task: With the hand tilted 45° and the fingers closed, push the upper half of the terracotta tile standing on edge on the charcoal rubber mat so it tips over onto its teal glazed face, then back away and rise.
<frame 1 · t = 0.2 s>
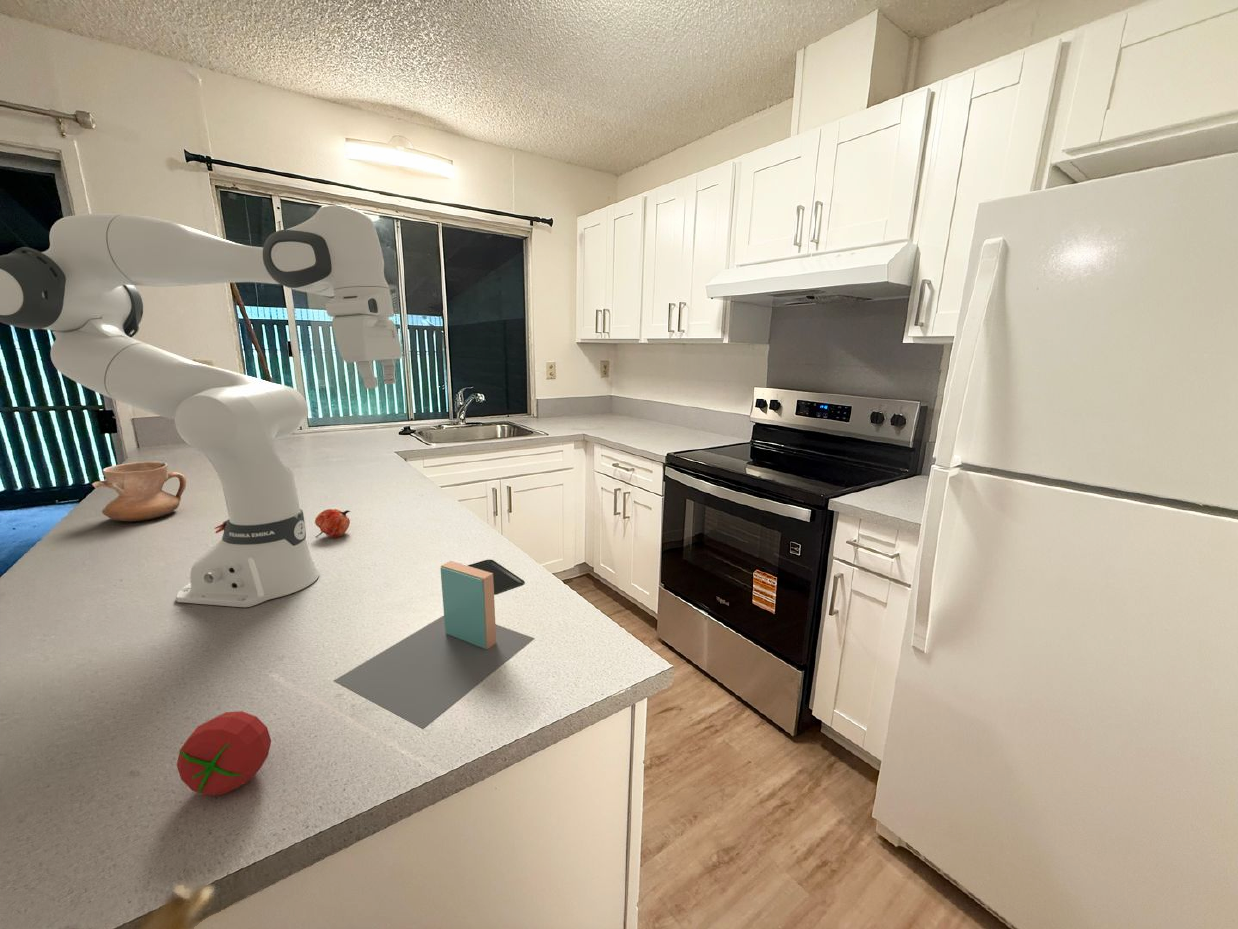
hand: (381, 386, 89), 39 cm above the counter, tool pointing down, fingers open, 8 cm apart
mat: (441, 661, 73), on the counter
phone: (491, 581, 100), on the counter
tomato: (230, 785, 52), on the counter
tile: (470, 637, 78), point 1 cm above the counter, touching mat
ceramic jug: (149, 516, 132), on the counter
pomegranate: (333, 537, 120), on the counter
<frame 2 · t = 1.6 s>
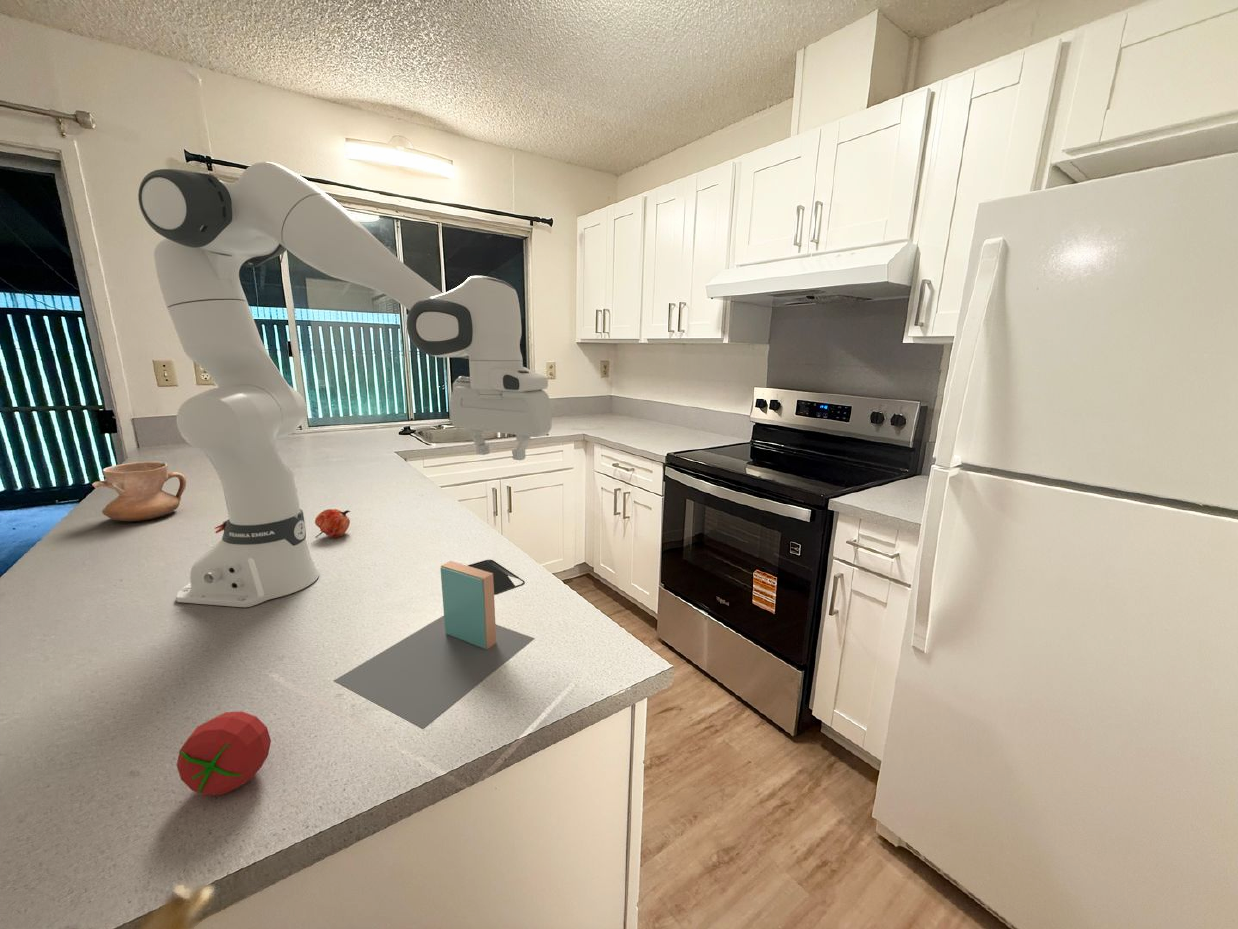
hand: (500, 456, 86), 27 cm above the counter, tool pointing down, fingers open, 7 cm apart
nothing on the counter moved.
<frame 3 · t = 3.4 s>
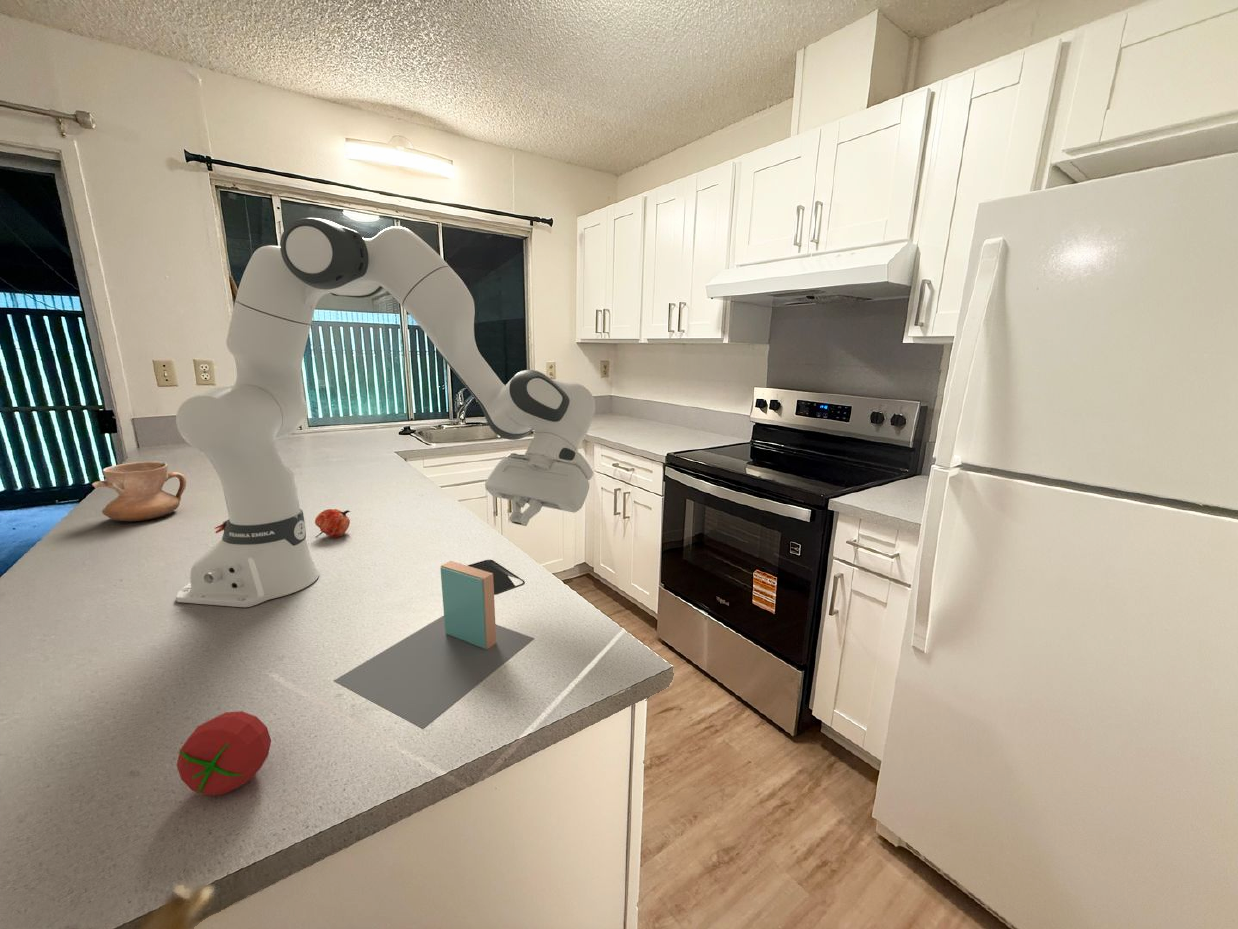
hand: (517, 523, 85), 16 cm above the counter, tool tilted 45°, fingers closed
nothing on the counter moved.
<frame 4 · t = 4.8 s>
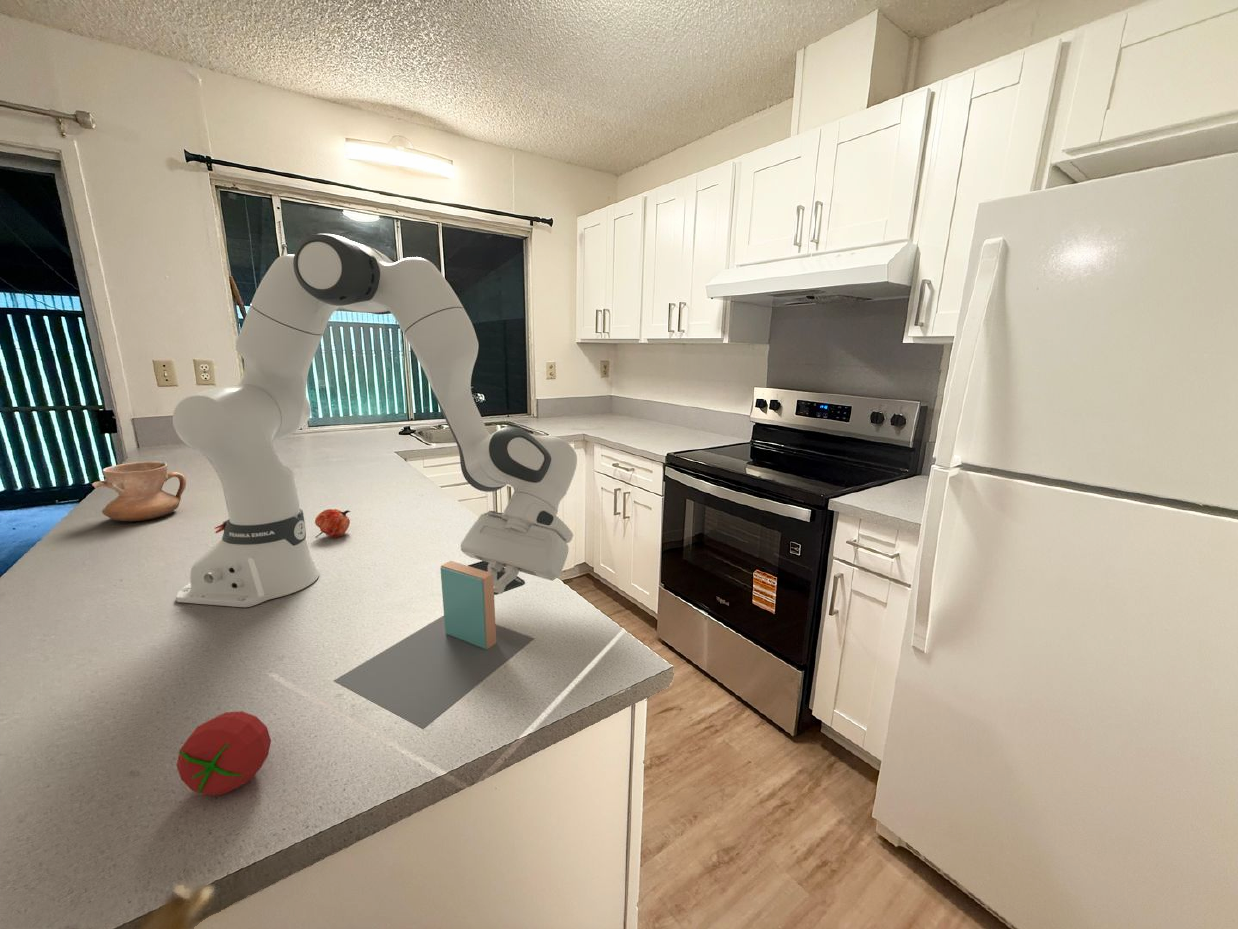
hand: (492, 590, 81), 6 cm above the counter, tool tilted 45°, fingers closed
nothing on the counter moved.
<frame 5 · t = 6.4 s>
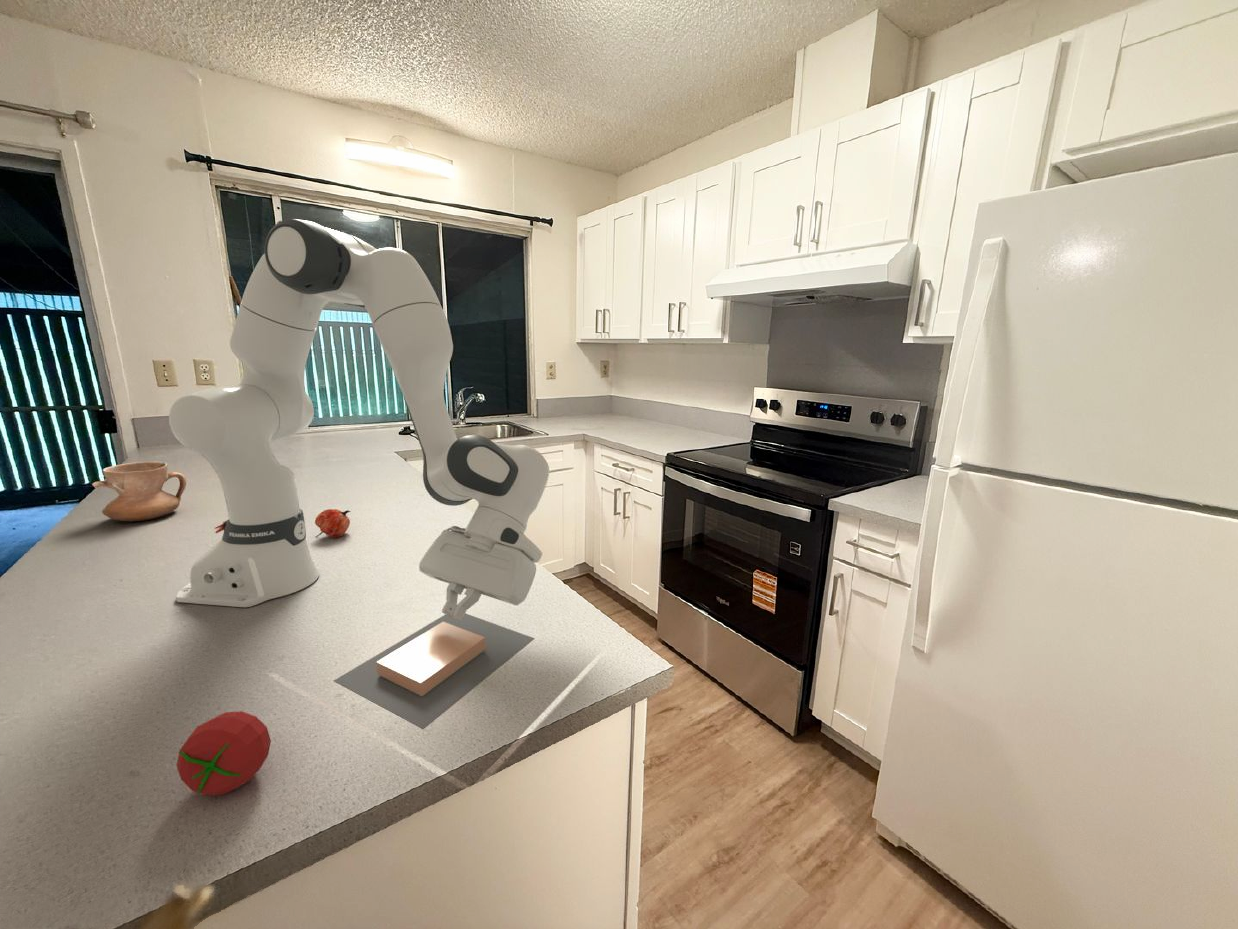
hand: (451, 616, 74), 6 cm above the counter, tool tilted 45°, fingers closed
tile: (463, 635, 77), point 2 cm above the counter, tilted 90°, touching mat
everything else where it was.
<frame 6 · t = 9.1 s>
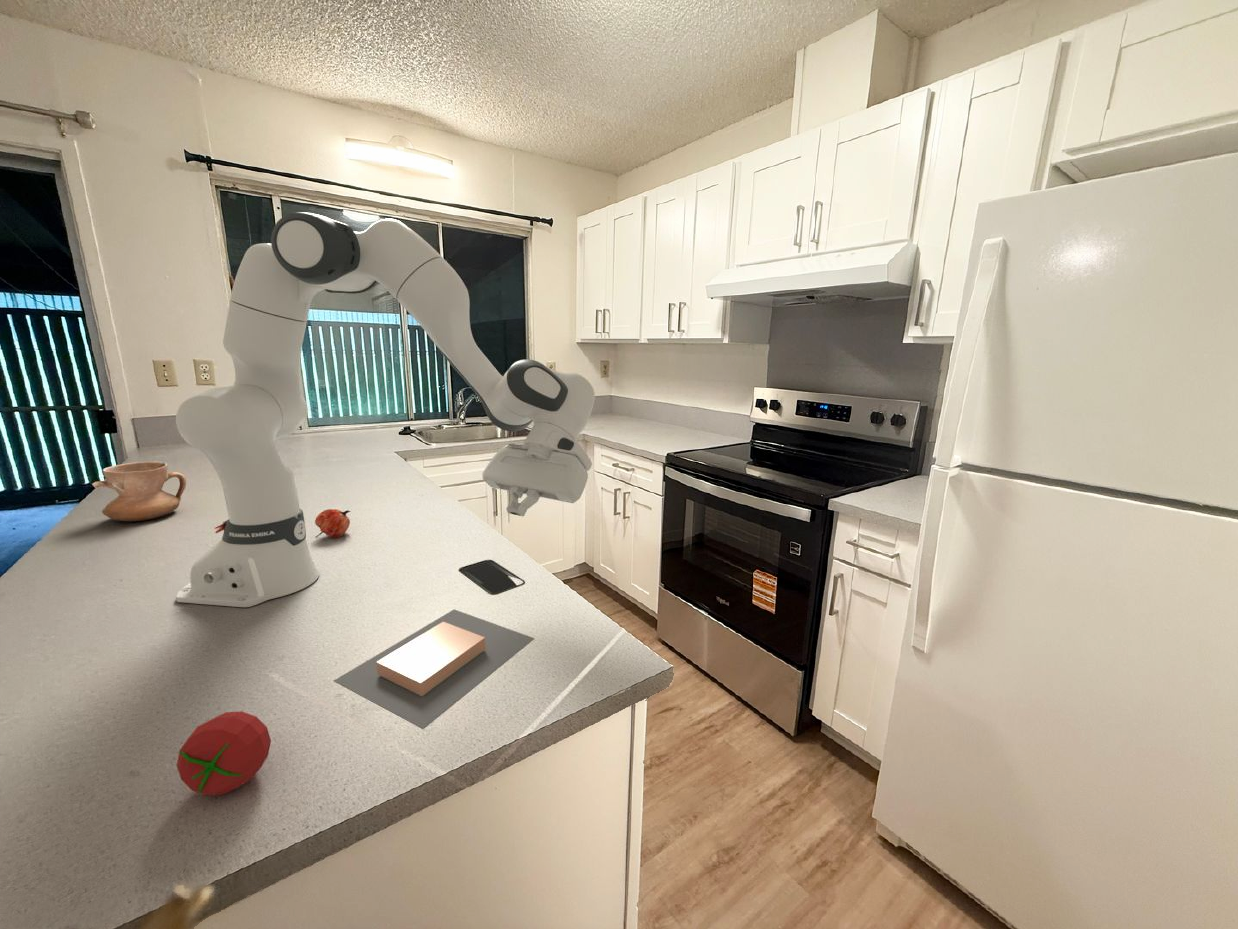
hand: (514, 513, 84), 18 cm above the counter, tool tilted 45°, fingers closed
nothing on the counter moved.
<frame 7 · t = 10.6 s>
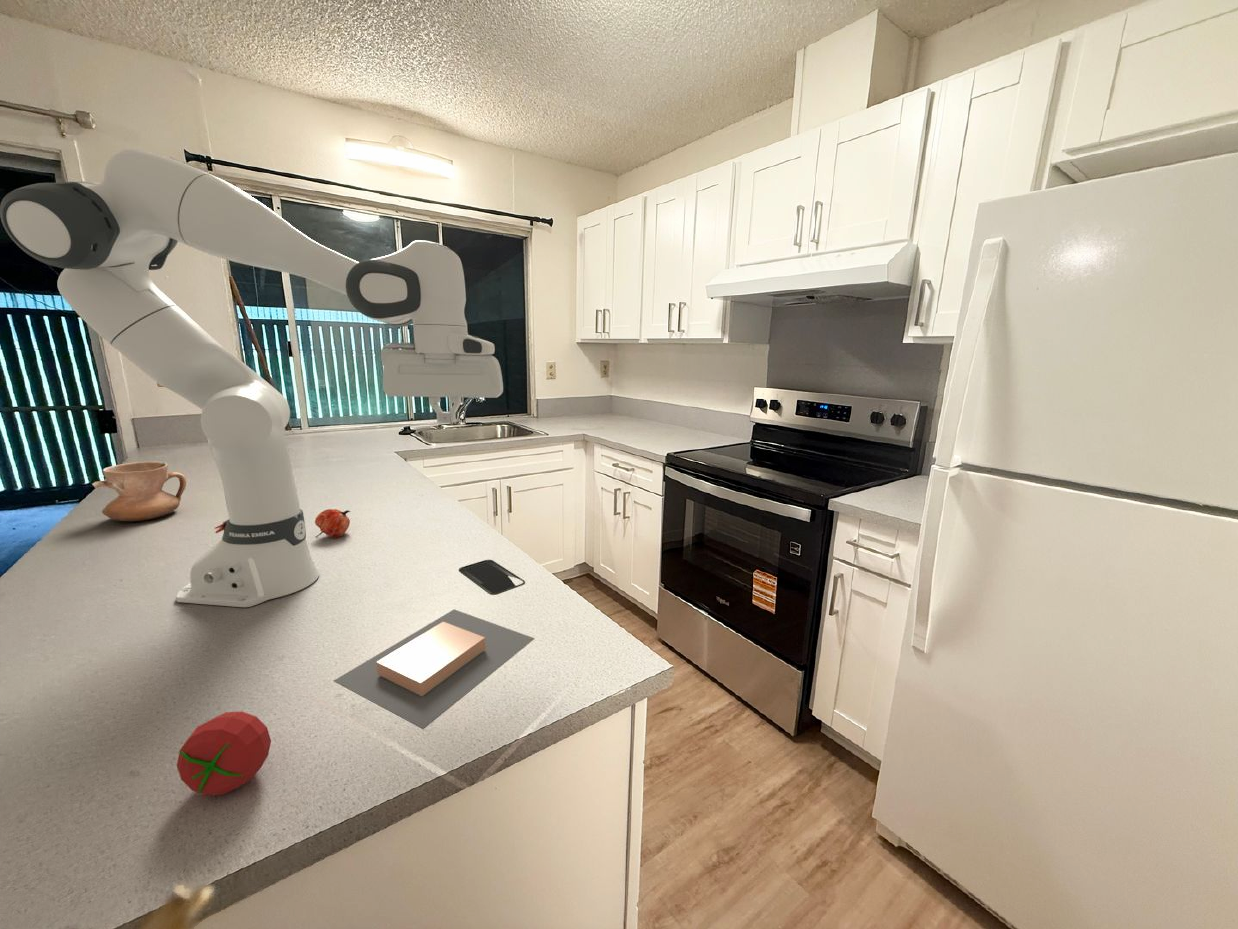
hand: (446, 422, 87), 33 cm above the counter, tool pointing down, fingers closed
nothing on the counter moved.
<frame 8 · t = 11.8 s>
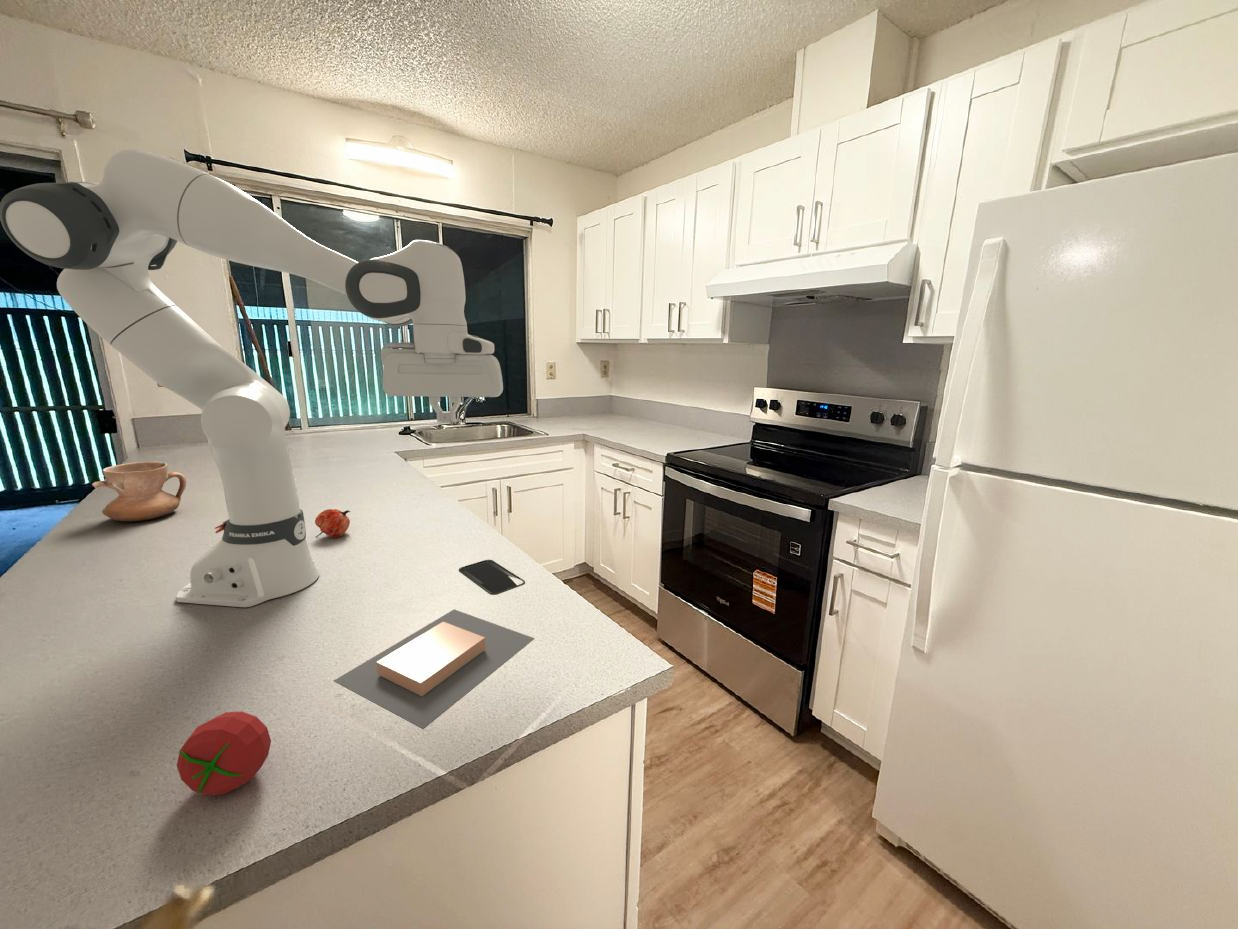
hand: (446, 421, 87), 33 cm above the counter, tool pointing down, fingers closed
nothing on the counter moved.
at the end: tile tilted 90°; tile touching mat; tile inside the target area on the mat (0.4 cm from its centre), point 1.9 cm above the mat's base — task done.
